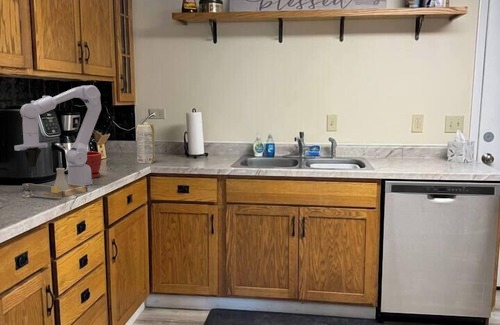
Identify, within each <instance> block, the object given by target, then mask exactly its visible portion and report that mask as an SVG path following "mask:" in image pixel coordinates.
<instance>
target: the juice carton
mask: <svg viewBox="0 0 500 325" xmlns="http://www.w3.org/2000/svg"><path fill="white" fill-rule="evenodd" d="M155 150H156V148H155V127H154V124H149V122H143V124H142V123H140V124H137V126H136V157H137V158H136V159H137V163H138V164H141V165H142V164H143V165H144V164H145V165H146V164H147V165H148V164H149V165H150V164H153V163H154V162H155V157H156V156H155V155H156V154H155Z"/></svg>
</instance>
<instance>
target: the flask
mask: <svg viewBox="0 0 500 325" xmlns="http://www.w3.org/2000/svg"><path fill="white" fill-rule="evenodd" d="M55 170H56V178H55V181H54V184H53V186H61V191H65V190H69V189H70V188H69V185H68V184H69V182H67V178H66V175H65V170H66V169H65V168H64V167H57V168H56V169H55Z"/></svg>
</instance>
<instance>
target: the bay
mask: <svg viewBox="0 0 500 325" xmlns="http://www.w3.org/2000/svg"><path fill="white" fill-rule="evenodd" d="M68 185H69V188H70V189H69V190H65V191H61V192H58V193H53V192H45V191H42V194H43V195H45V196H50V197H51V196H52V197H58V198H59V197H60V198H65V197H69V196H73V195H78V194H82V193H85V192H88V190H89V188H88V185H86V186H83V185H74V184H69V183H68Z"/></svg>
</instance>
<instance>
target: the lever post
mask: <svg viewBox="0 0 500 325" xmlns="http://www.w3.org/2000/svg"><path fill="white" fill-rule="evenodd" d="M23 191H24V194H22V195H21V197H22V198H33V197H35V194H34V193H32V190H23Z"/></svg>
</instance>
